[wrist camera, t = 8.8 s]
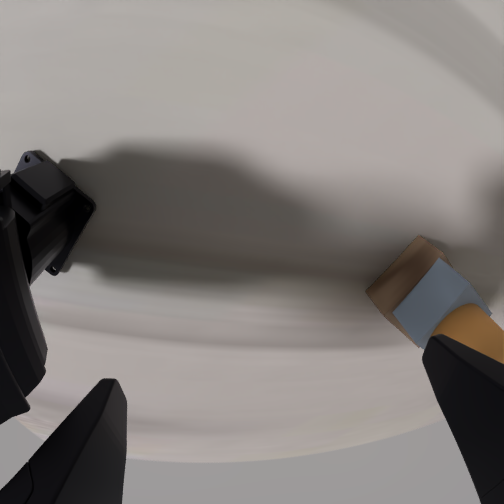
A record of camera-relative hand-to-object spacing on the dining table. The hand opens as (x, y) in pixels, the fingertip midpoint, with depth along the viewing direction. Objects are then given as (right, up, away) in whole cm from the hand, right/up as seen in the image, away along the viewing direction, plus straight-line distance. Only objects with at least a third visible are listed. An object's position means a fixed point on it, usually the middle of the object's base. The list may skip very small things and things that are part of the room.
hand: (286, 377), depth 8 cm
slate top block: (+12, 0, +12) cm, 17 cm away
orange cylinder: (+13, -2, +9) cm, 16 cm away
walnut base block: (+12, +1, +15) cm, 20 cm away
